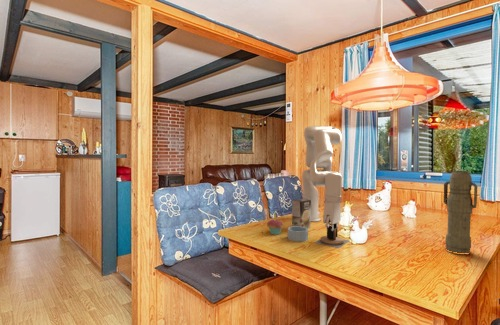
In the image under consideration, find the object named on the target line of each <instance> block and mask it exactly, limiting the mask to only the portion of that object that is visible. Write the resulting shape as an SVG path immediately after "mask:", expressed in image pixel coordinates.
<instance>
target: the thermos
mask: <svg viewBox="0 0 500 325" xmlns="http://www.w3.org/2000/svg"><path fill="white" fill-rule="evenodd" d="M472 180H473V179H472V175H471V173H470V172H469V171H467V170H466V171H465V170H454V171H452V172H451V173H450V177H449V180H448V181H446V182H445V183H444V184H443V203H444V205H446V211H447V230H446V231H447V232H446V235H445V250H446V249H447V250H449V251H452V252H457V253H469V252H470V253H471V248H472V239H471V219H472V218H471V215H472V213H473V209H476V208H477V204H478V185H477V184H476V183H475V182H472ZM472 186H473V187H474V191H473V198H472V193H471V190H472ZM448 187H449V188H448Z"/></svg>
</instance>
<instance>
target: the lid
mask: <svg viewBox="0 0 500 325" xmlns="http://www.w3.org/2000/svg"><path fill="white" fill-rule="evenodd" d="M333 231H334V239H328V238H327V235H322V236H320V239H321V242H322V243H324V244H328V245H342V244H344V240H345V239H344V238H342V237H340V236H337V237H336V228H333ZM344 245H345V244H344Z"/></svg>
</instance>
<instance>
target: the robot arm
mask: <svg viewBox="0 0 500 325" xmlns="http://www.w3.org/2000/svg"><path fill="white" fill-rule="evenodd" d="M303 134H304V135H303V136H304V140H305V144H306V149H305V150H306V151H305V166H306V167H307V168H309V169H304V170H303V171H302V174H301V179H302V188H303V189H302V191H303V192H302V194H303V195H302V199H308V200H311V217H310V223H311V222H319V221H321V220H322V222H323V224H325V227H326V236H327V238H328V239H334V231H333V228H336V237H338V228H339V227H338V226H339V222H340V221H341V215H342V214H341V211H342V210H341V204H342V187H343V177H342V176H343V175H342V174H341V173H340V172H338V171H333V170H332V168H333V155H334V151H333V145H334V146H337V145H340V144H341V142H342V137H343V136H342V133H341V130H339V129H338V128H336V127H335V126H328V125H325V126H322V125H321V126H320V125H312V126H311V125H310V126H307V127H305V128H304V132H303ZM320 168H321V169H320ZM317 187H324V207H323V212H322V213H323V214H322V215H323V216H322V218H321V217H320V216H319V215H320V214H321V212H320V211H319V201H320V199H319V197H320V196H319V195H320V192H319V190H318V188H317Z"/></svg>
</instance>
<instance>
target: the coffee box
mask: <svg viewBox="0 0 500 325" xmlns="http://www.w3.org/2000/svg"><path fill="white" fill-rule="evenodd" d="M291 203H292V206H291V207H292V208H291V227H293V226H300V227H305V228H307V229H308V230H309V229H310V228H311V222H310V217H311V200H308V199H303V198H298V199H297V198H296V199H292V202H291Z"/></svg>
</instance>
